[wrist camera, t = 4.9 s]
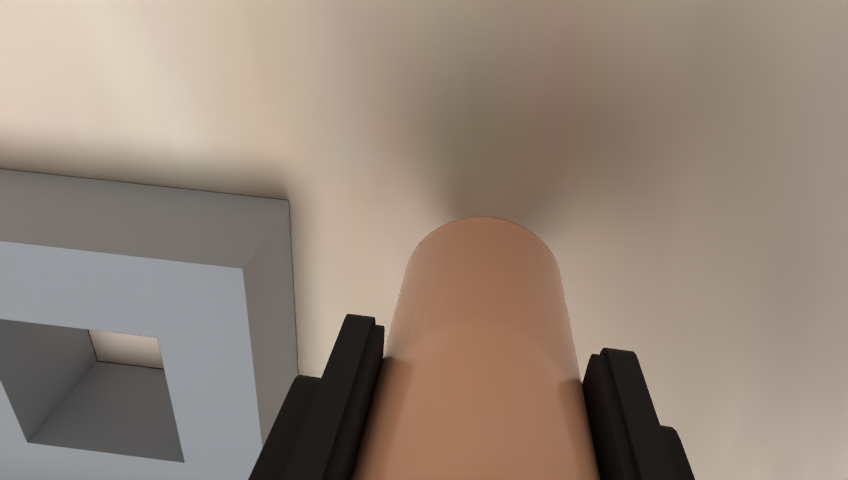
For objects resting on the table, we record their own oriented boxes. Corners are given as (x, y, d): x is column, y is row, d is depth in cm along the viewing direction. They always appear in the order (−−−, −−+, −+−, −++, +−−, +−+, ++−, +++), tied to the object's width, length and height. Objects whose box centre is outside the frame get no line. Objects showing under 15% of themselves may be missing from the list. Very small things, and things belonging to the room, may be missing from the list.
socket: (288, 200, 18) (242, 268, 14) (306, 524, 27) (280, 614, 23) (-41, 164, 18) (-162, 222, 15) (85, 495, 27) (27, 579, 24)
